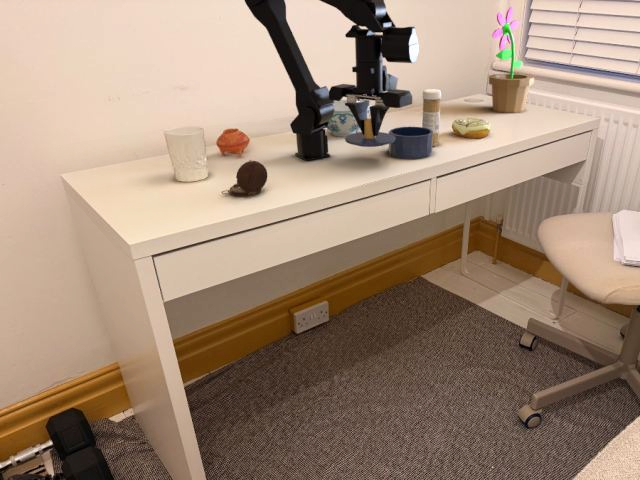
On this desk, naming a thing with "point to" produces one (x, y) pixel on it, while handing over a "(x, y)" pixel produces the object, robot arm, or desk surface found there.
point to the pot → (232, 141)
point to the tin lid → (369, 137)
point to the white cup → (187, 152)
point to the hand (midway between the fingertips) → (370, 135)
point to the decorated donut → (471, 127)
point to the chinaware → (343, 119)
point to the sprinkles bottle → (432, 112)
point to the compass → (249, 179)
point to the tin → (411, 142)
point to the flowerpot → (510, 87)
